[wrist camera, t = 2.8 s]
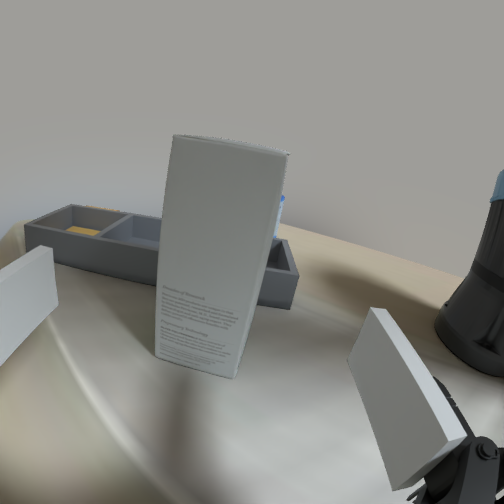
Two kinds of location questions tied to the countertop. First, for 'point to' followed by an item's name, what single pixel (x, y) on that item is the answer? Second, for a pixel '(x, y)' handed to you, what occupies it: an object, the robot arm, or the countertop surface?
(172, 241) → the skincare box
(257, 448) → the countertop surface
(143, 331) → the countertop surface
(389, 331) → the robot arm
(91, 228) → the organiser
